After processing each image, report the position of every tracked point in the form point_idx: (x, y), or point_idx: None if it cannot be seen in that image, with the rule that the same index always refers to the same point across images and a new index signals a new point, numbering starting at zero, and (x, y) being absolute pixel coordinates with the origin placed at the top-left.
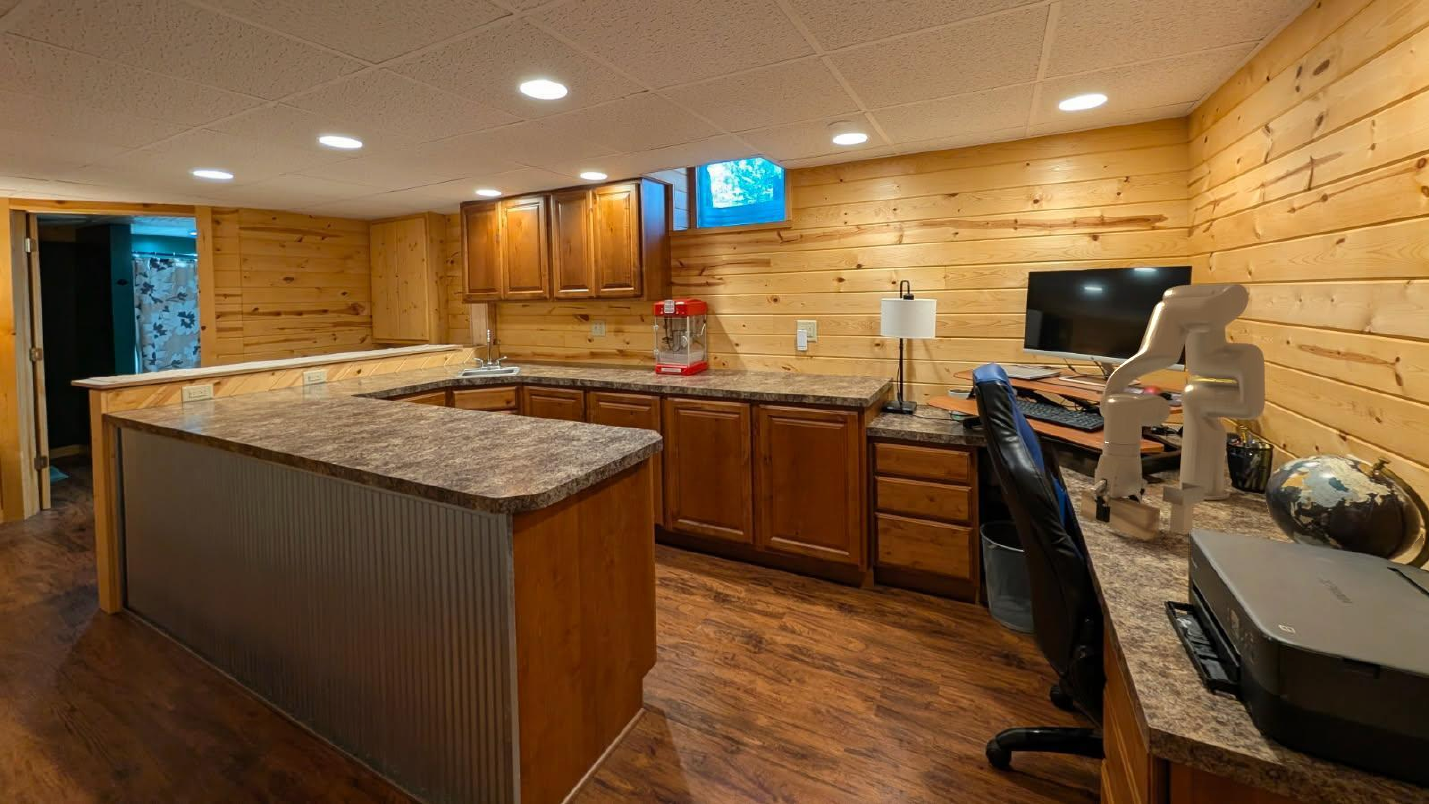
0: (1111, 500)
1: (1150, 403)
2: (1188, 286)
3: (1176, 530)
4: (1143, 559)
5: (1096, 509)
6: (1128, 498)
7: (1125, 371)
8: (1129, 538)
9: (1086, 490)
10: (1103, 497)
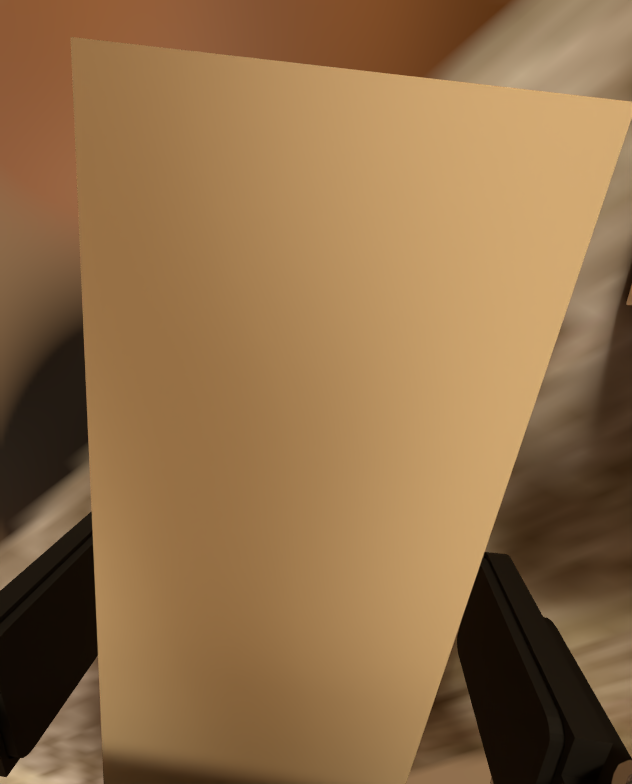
0: (109, 779)
1: None
2: None
3: None
4: (23, 780)
5: (23, 574)
6: (581, 760)
7: None
8: None
9: (165, 172)
10: (101, 675)
